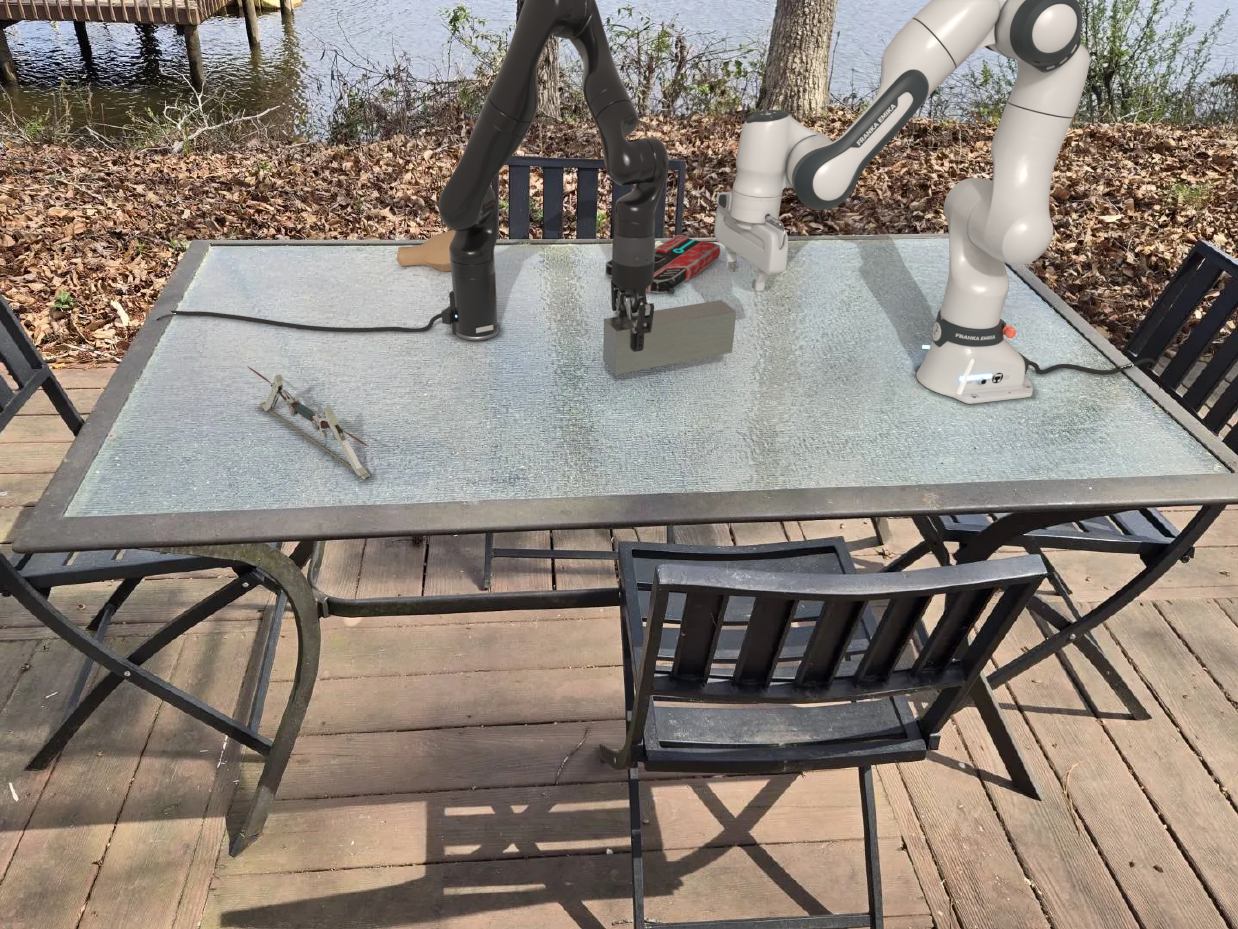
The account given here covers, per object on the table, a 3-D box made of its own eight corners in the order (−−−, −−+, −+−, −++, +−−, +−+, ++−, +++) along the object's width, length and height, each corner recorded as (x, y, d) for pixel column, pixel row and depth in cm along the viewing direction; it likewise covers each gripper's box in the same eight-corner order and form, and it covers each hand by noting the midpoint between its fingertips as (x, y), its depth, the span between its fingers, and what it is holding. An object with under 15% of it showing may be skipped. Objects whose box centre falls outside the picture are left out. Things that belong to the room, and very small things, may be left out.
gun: (600, 263, 216) (668, 282, 208) (660, 227, 238) (724, 243, 230) (599, 280, 219) (667, 299, 211) (659, 243, 241) (723, 259, 233)
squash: (475, 275, 220) (467, 243, 214) (398, 282, 222) (387, 251, 216) (480, 253, 228) (473, 221, 222) (405, 260, 230) (396, 229, 224)
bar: (615, 374, 163) (616, 331, 158) (602, 361, 167) (603, 318, 162) (731, 352, 172) (736, 311, 167) (717, 340, 176) (721, 299, 171)
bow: (380, 482, 144) (372, 430, 139) (371, 487, 143) (362, 435, 137) (261, 400, 165) (250, 352, 160) (252, 403, 164) (240, 355, 159)
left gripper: (670, 268, 150) (665, 356, 160) (635, 240, 161) (632, 324, 171) (631, 273, 148) (627, 363, 157) (597, 245, 159) (596, 330, 168)
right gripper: (802, 223, 150) (789, 299, 158) (741, 189, 166) (732, 259, 173) (771, 226, 148) (759, 303, 155) (712, 191, 163) (704, 262, 171)
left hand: (630, 342), depth 164 cm, fingers closed on bar, 6 cm apart
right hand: (744, 280), depth 164 cm, fingers open, 8 cm apart
